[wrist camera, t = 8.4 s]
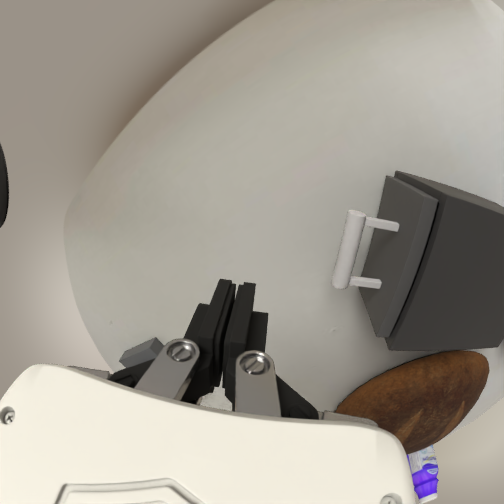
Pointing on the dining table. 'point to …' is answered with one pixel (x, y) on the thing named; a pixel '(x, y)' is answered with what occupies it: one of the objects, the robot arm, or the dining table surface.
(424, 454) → the bottle
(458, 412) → the bread
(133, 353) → the control block
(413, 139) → the dining table surface
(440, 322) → the grey drawer cabinet
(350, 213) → the fryer drawer
